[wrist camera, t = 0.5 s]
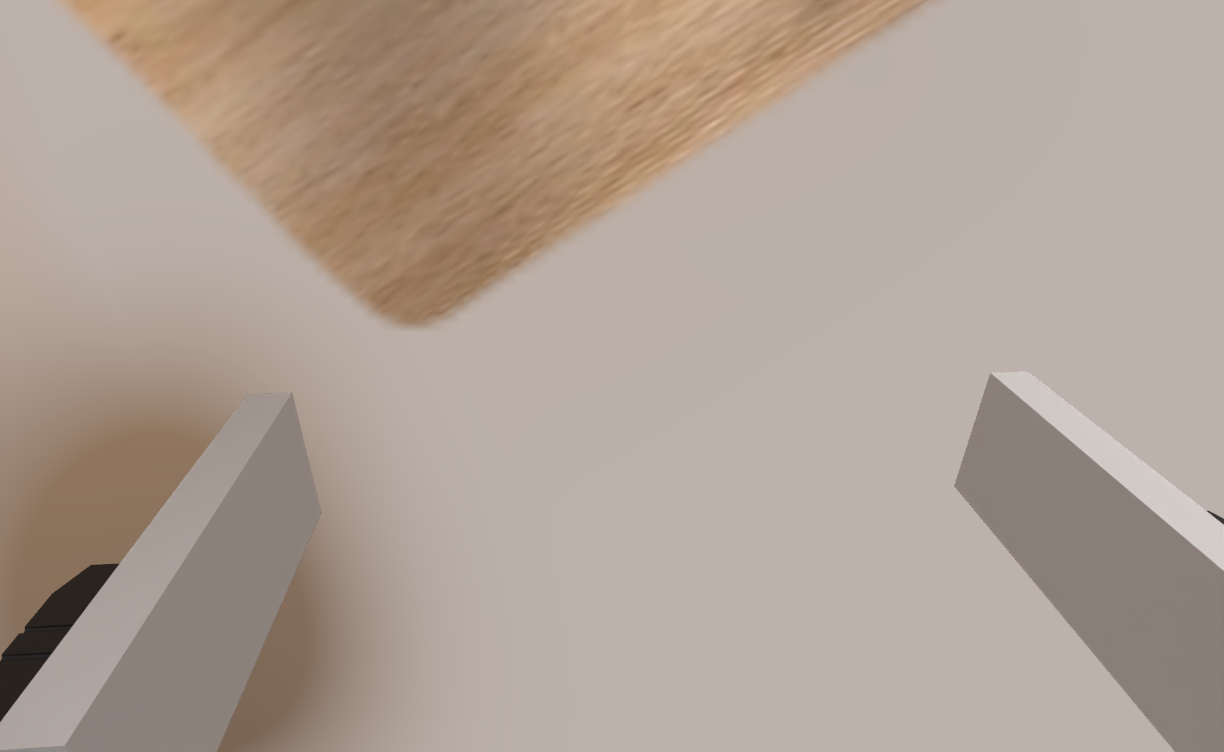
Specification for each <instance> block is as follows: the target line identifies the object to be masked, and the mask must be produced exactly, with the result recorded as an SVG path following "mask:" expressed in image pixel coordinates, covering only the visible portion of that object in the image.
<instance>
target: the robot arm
mask: <svg viewBox="0 0 1224 752" xmlns="http://www.w3.org/2000/svg"><path fill="white" fill-rule="evenodd" d="M955 488H956V489H957V490H958V491H959V492H960V494H961V495H962V496H963V497H964V498H965V500H966V501H967V502H968V503H969V504H970V505H971V507H972V508H973V509H974V510H975V512H976V513H977V514H978V515H979V516H980V518H981V519H982V520H983V521H984V522H985V524H986V525H987V526H988V527H989V528H990V530H991V531H992V532H993V533H994V535H995V536H996V537H997V538H998V539H999V541H1000V542H1001V543H1002V544H1003V545H1004V547H1005V548H1006V549H1007V550H1008V551H1009V553H1010V554H1011V555H1012V556H1013V557H1014V558H1015V560H1016V561H1017V562H1018V563H1019V564H1020V566H1021V567H1022V568H1023V569H1024V571H1025V572H1026V573H1027V574H1028V575H1029V577H1030V578H1031V579H1032V580H1033V581H1034V583H1035V584H1036V585H1037V586H1038V587H1039V589H1040V590H1041V591H1042V592H1043V593H1044V595H1045V596H1046V597H1047V598H1048V599H1049V601H1050V602H1051V603H1052V604H1053V605H1054V607H1055V608H1056V609H1057V610H1058V611H1059V613H1060V614H1061V615H1062V616H1063V618H1064V619H1065V620H1066V621H1067V622H1068V624H1069V625H1070V626H1071V627H1072V628H1073V630H1074V631H1075V632H1076V633H1077V634H1078V636H1079V637H1080V638H1081V639H1082V640H1083V642H1084V643H1085V644H1086V645H1087V646H1088V648H1089V649H1090V650H1091V651H1092V652H1093V653H1094V655H1095V656H1096V657H1097V658H1098V660H1099V661H1100V662H1101V663H1102V664H1103V666H1104V667H1105V668H1106V669H1107V671H1108V672H1109V673H1110V674H1111V675H1112V677H1113V678H1114V679H1115V680H1116V681H1117V683H1118V684H1119V685H1120V686H1121V687H1122V689H1123V690H1124V691H1125V692H1126V693H1127V695H1128V696H1129V697H1130V698H1131V699H1132V700H1133V702H1134V703H1135V704H1136V705H1137V707H1138V708H1139V709H1140V710H1141V711H1142V712H1143V714H1144V715H1145V716H1146V717H1147V719H1148V720H1149V721H1150V722H1151V723H1152V725H1153V726H1154V727H1155V728H1156V729H1157V731H1158V732H1159V733H1160V734H1161V736H1162V737H1163V738H1164V739H1165V740H1166V742H1167V743H1168V744H1169V745H1170V746H1171V747H1172V749H1173V750H1174V751H1175V752H1224V519H1223V518H1221V517H1219V516H1217V515H1216V514H1214V513H1212V512H1210V511H1206V510H1204V509H1203V508H1202V507H1200V506H1199V505H1198V504H1197V503H1195V502H1194V501H1193V500H1191V499H1190V498H1189V497H1188V496H1186V495H1185V494H1184V493H1182V492H1181V491H1180V490H1179V489H1177V488H1176V487H1175V486H1174V485H1172V484H1171V483H1170V482H1168V481H1167V480H1166V479H1164V478H1163V477H1162V476H1161V475H1159V474H1158V473H1157V472H1156V471H1154V470H1153V469H1152V468H1150V467H1149V466H1148V465H1146V464H1145V463H1144V462H1143V461H1142V460H1140V459H1139V458H1138V457H1136V456H1135V455H1134V454H1133V453H1131V452H1130V451H1129V450H1127V449H1126V448H1125V447H1124V446H1122V445H1121V444H1120V443H1119V442H1117V441H1116V440H1115V439H1113V438H1112V437H1111V436H1110V435H1108V434H1107V433H1106V432H1104V431H1103V430H1102V429H1100V428H1099V427H1098V426H1097V425H1095V424H1094V423H1093V422H1092V421H1090V420H1089V419H1088V418H1087V417H1085V416H1084V415H1083V414H1081V413H1080V412H1079V411H1077V410H1076V409H1075V408H1074V407H1072V406H1071V405H1070V404H1069V403H1067V402H1066V401H1065V400H1063V399H1062V398H1061V397H1059V396H1058V395H1057V394H1055V393H1054V392H1053V391H1052V390H1051V389H1049V388H1048V387H1047V386H1046V385H1044V384H1043V383H1042V382H1040V381H1039V380H1038V379H1037V378H1035V377H1034V376H1033V375H1031V374H1030V373H1029V372H1004V373H1003V372H1000V373H990V376H989V379H988V382H987V385H986V388H985V391H984V395H983V398H982V401H981V404H980V407H979V410H978V413H977V417H976V420H975V423H974V426H973V429H972V432H971V435H970V439H969V442H968V445H967V448H966V451H965V454H964V457H963V461H962V464H961V467H960V470H959V473H958V476H957V479H956V483H955ZM320 515H321V510H320V506H319V502H318V497H317V493H316V489H315V485H314V481H313V477H312V473H311V469H310V465H309V460H308V457H307V452H306V449H305V445H304V440H303V436H302V432H301V428H300V424H299V420H298V416H297V412H296V408H295V403H294V399H293V395H292V393H271V394H270V393H269V394H247V395H246V397H245V398H244V399H243V401H242V402H241V403H240V405H239V406H238V407H237V409H236V410H235V411H234V413H233V414H232V415H231V417H230V418H229V419H228V421H227V422H226V423H225V425H224V426H223V427H222V429H221V430H220V431H219V433H218V434H217V435H216V437H215V438H214V439H213V441H212V442H211V443H210V445H209V446H208V447H207V449H206V450H205V451H204V453H203V454H202V455H201V457H200V458H199V459H198V461H197V462H196V463H195V464H194V466H193V467H192V468H191V470H190V471H189V473H188V474H187V475H186V476H185V478H184V479H183V480H182V482H181V483H180V484H179V486H178V487H177V488H176V490H175V491H174V492H173V494H172V495H171V497H170V498H169V499H168V500H167V502H166V503H165V504H164V506H163V507H162V508H161V510H160V511H159V512H158V514H157V515H156V516H155V518H154V519H153V520H152V521H151V523H150V524H149V525H148V527H147V528H146V529H145V531H144V532H143V533H142V535H141V536H140V538H139V539H138V540H137V541H136V543H135V544H134V545H133V547H132V548H131V549H130V551H129V552H128V554H127V555H126V556H125V557H124V559H123V560H122V561H121V563H120V564H103V565H90V566H89V567H88V568H86V569H85V570H84V571H82V572H81V573H80V574H79V575H77V576H76V577H74V578H73V579H72V580H70V581H69V582H68V583H66V584H65V585H63V586H62V587H61V588H59V589H58V590H57V591H55V592H54V593H53V594H52V595H51V596H50V597H49V598H48V599H47V601H46V602H45V603H44V604H43V606H42V607H41V608H40V609H39V610H38V612H37V613H36V614H35V615H34V617H33V618H32V619H31V620H30V621H29V622H28V624H27V625H26V626H25V632H24V633H21V634H18V636H17V637H16V638H15V639H14V641H13V642H12V643H11V644H10V645H9V647H8V648H7V649H6V650H5V651H4V653H3V654H2V660H1V661H0V752H217V750H218V747H219V745H220V743H221V741H222V738H223V736H224V734H225V732H226V729H227V727H228V725H229V722H230V720H231V718H232V716H233V713H234V711H235V709H236V707H237V704H238V702H239V700H240V697H241V695H242V693H243V690H244V688H245V686H246V684H247V681H248V679H249V676H250V675H251V672H252V670H253V668H254V665H255V663H256V661H257V659H258V656H259V654H260V652H261V649H262V647H263V645H264V642H265V640H266V638H267V636H268V633H269V631H270V629H271V626H272V624H273V622H274V620H275V617H276V615H277V613H278V610H279V608H280V606H281V604H282V601H283V599H284V597H285V595H286V592H287V590H288V588H289V585H290V583H291V581H292V578H293V576H294V574H295V572H296V569H297V567H298V565H299V563H300V560H301V558H302V556H303V553H304V551H305V549H306V547H307V544H308V542H309V540H310V537H311V535H312V533H313V531H314V528H315V526H316V524H317V521H318V519H319V517H320Z"/></svg>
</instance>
